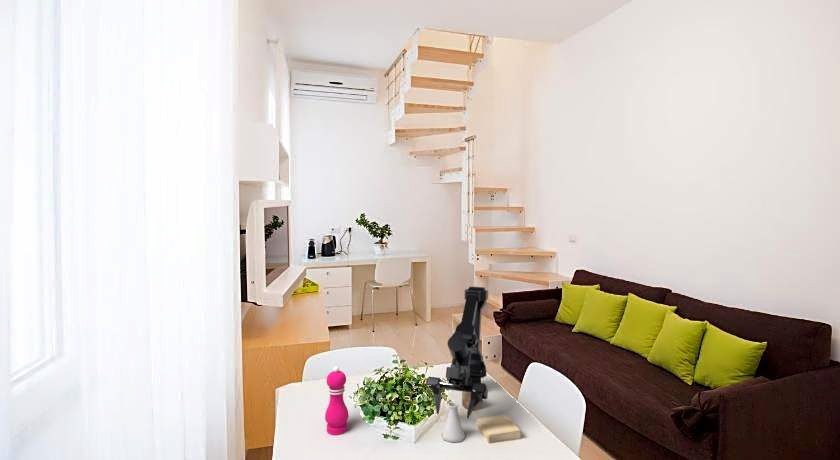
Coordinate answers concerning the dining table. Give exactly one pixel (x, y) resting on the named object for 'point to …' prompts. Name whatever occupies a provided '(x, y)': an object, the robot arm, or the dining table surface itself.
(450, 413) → the flask
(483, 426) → the oak block
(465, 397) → the walnut cube
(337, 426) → the pepper mill
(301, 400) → the dining table surface
